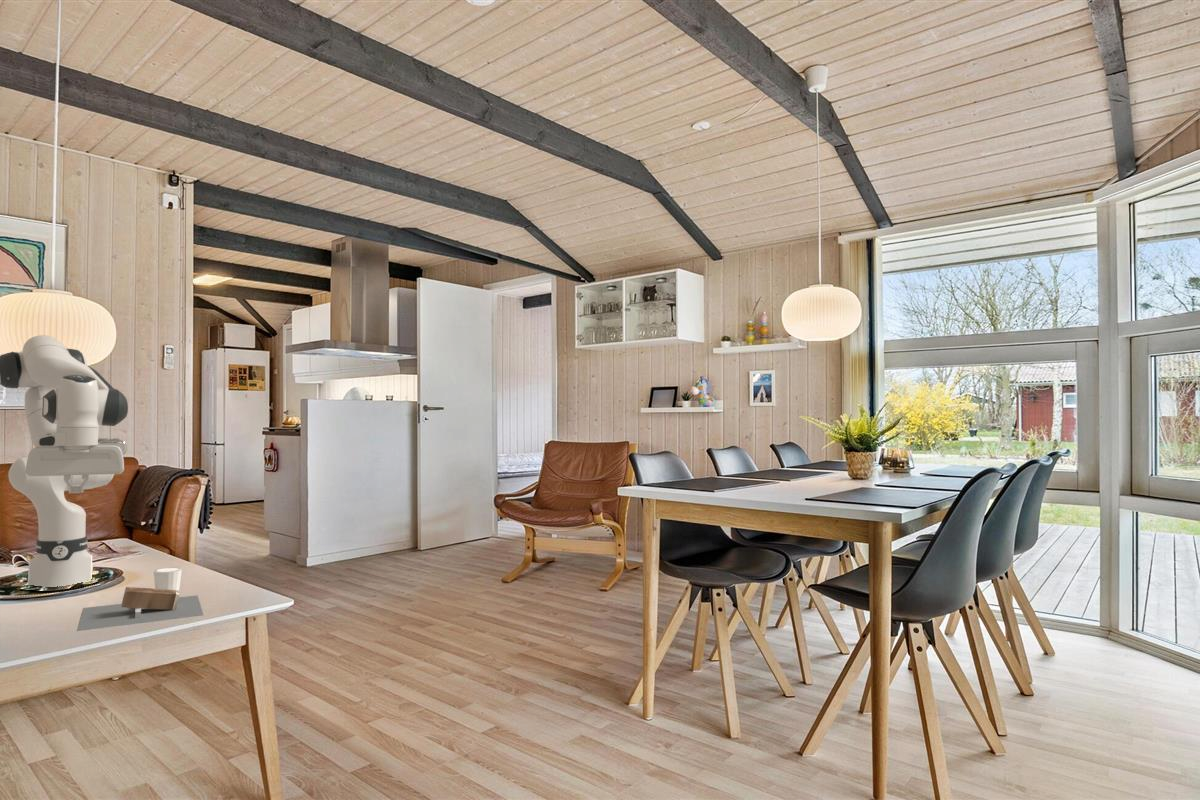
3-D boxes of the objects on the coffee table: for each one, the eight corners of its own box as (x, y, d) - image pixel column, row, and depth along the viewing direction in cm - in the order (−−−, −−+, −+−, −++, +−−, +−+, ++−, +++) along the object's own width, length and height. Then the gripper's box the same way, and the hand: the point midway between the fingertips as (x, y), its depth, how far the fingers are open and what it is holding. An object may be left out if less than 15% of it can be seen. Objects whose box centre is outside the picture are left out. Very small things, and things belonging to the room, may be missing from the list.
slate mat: (83, 610, 185) (83, 602, 185) (197, 597, 199) (197, 589, 199) (77, 633, 167) (77, 624, 167) (203, 617, 181) (203, 609, 181)
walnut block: (126, 586, 183) (178, 590, 189) (122, 602, 183) (175, 605, 189) (125, 591, 179) (179, 594, 185) (121, 607, 178) (175, 609, 185)
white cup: (168, 598, 198) (168, 573, 198) (147, 596, 199) (147, 571, 200) (186, 592, 205) (187, 567, 205) (166, 590, 206) (167, 566, 206)
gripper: (126, 437, 190) (125, 489, 189) (28, 438, 178) (27, 493, 178) (126, 438, 184) (124, 492, 184) (25, 439, 173) (23, 496, 173)
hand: (76, 492), depth 181 cm, fingers closed
